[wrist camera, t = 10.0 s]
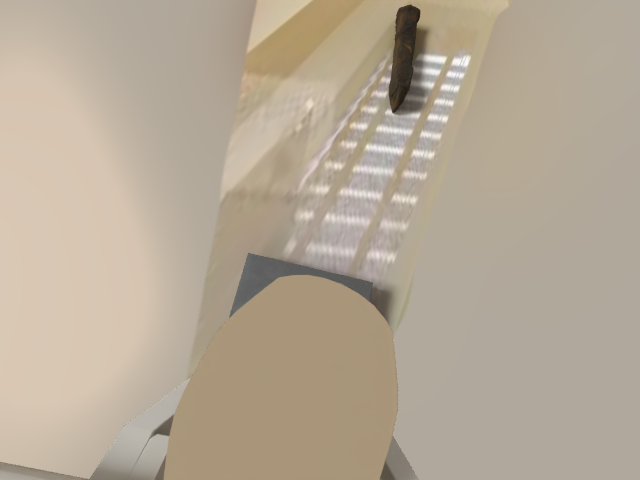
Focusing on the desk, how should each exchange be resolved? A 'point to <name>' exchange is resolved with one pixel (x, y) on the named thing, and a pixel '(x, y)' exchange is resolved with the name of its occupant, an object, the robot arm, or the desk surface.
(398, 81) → the hand tool
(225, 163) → the desk surface
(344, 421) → the handle
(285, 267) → the jig
